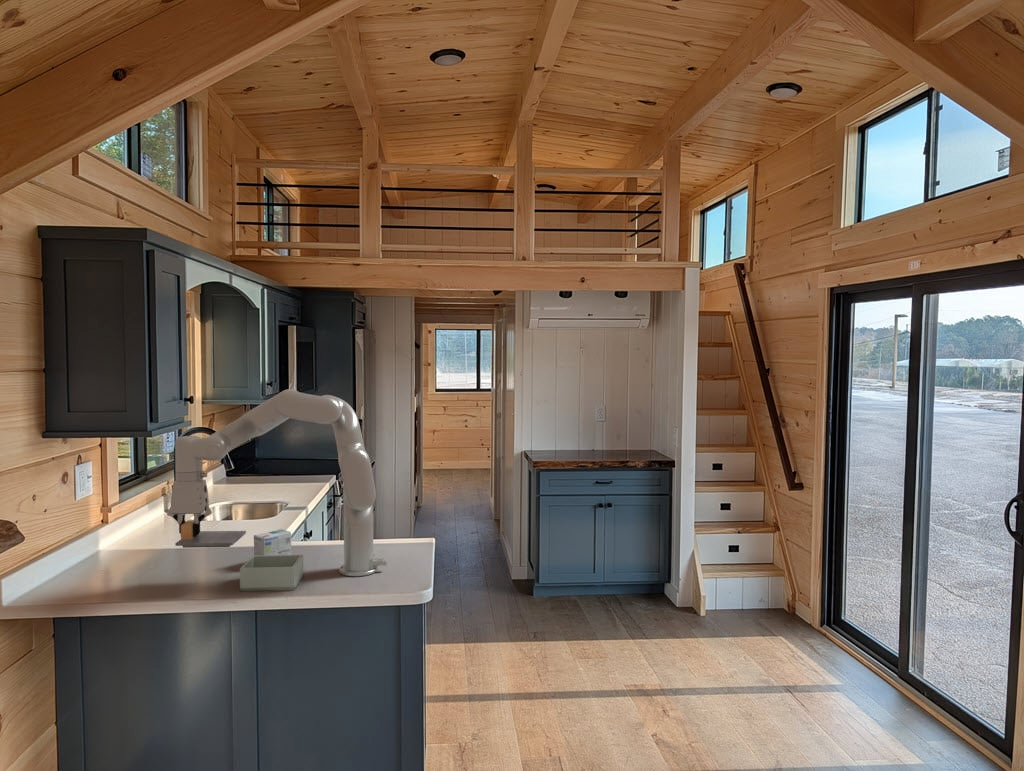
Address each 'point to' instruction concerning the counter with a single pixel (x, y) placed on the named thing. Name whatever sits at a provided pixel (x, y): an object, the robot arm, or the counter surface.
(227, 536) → the snap lid
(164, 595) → the counter surface
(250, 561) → the parts tub
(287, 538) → the light bulb box
